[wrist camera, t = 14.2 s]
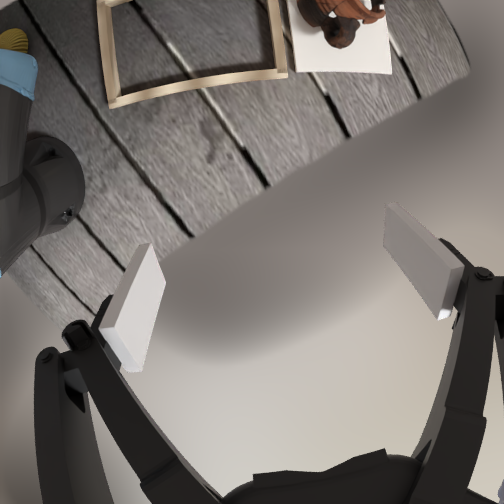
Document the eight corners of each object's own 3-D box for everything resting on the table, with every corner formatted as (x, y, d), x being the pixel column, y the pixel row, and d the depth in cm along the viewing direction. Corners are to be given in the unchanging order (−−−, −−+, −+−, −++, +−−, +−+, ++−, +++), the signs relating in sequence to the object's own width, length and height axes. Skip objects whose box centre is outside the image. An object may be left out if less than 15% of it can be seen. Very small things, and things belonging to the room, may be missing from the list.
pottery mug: (290, -26, 25) (334, -52, 18) (344, 0, 30) (389, -16, 23) (289, 47, 28) (341, 26, 21) (347, 69, 33) (398, 59, 26)
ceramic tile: (295, 72, 33) (296, 72, 32) (281, -28, 25) (282, -30, 24) (388, 74, 32) (392, 74, 31) (375, -21, 25) (378, -23, 24)
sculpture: (-13, 87, 25) (-18, 45, 21) (2, 84, 29) (-3, 45, 25) (20, 61, 25) (15, 17, 21) (36, 60, 28) (30, 20, 24)
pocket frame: (115, 107, 34) (109, 109, 32) (102, 3, 26) (96, 0, 24) (285, 78, 33) (288, 77, 31) (270, -31, 25) (271, -37, 23)
